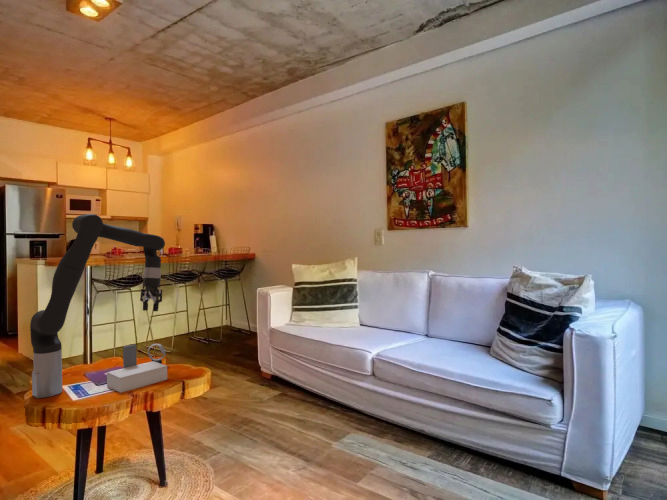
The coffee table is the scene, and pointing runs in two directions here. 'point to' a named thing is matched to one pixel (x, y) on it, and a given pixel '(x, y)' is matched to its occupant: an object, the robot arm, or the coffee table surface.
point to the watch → (160, 350)
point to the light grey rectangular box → (136, 376)
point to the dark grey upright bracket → (129, 356)
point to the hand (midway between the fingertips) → (150, 310)
